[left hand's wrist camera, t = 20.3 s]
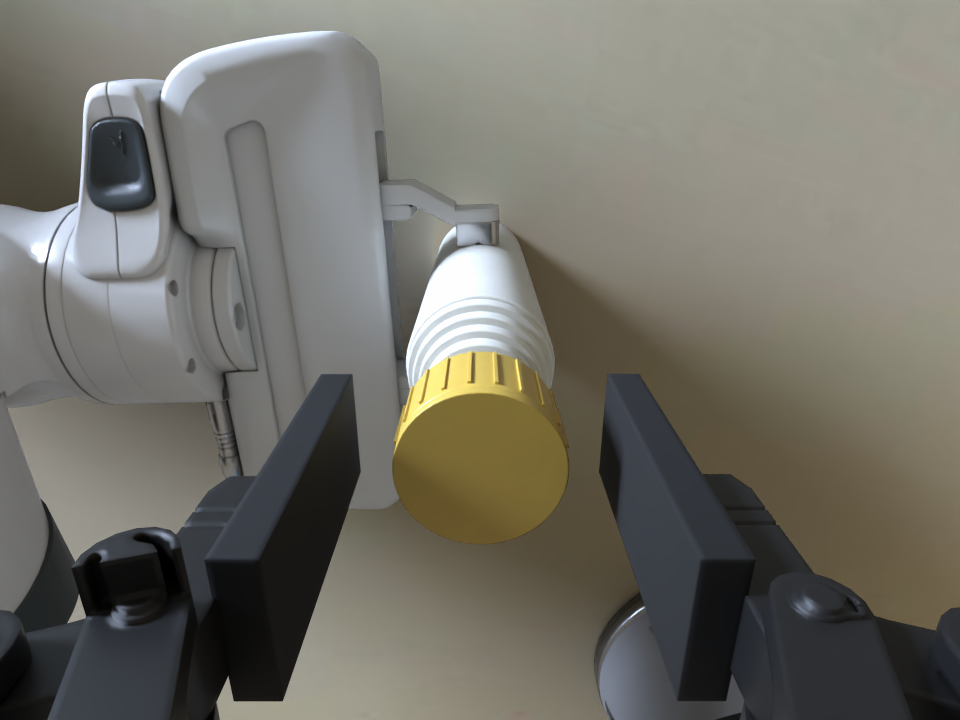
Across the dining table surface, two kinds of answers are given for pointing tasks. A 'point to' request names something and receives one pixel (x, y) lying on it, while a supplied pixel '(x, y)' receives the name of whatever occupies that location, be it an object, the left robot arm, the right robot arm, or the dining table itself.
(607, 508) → the dining table surface
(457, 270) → the bottle
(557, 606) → the dining table surface
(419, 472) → the cap
